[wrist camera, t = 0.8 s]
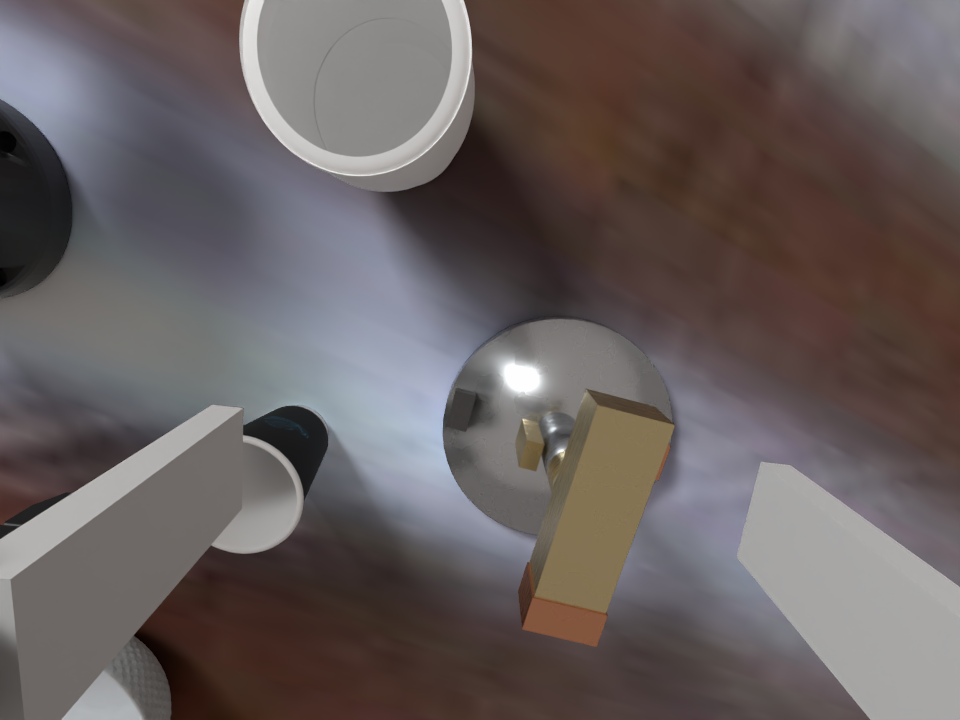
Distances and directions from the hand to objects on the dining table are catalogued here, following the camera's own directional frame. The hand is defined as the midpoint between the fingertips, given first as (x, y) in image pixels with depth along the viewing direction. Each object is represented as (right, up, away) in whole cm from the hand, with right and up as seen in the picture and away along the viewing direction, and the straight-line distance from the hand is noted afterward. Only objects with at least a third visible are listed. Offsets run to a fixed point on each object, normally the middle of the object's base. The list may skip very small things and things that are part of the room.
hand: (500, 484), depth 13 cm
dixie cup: (-15, -3, +30) cm, 33 cm away
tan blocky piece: (+6, -3, +26) cm, 27 cm away
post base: (+6, -2, +29) cm, 30 cm away
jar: (-6, +20, +24) cm, 32 cm away
